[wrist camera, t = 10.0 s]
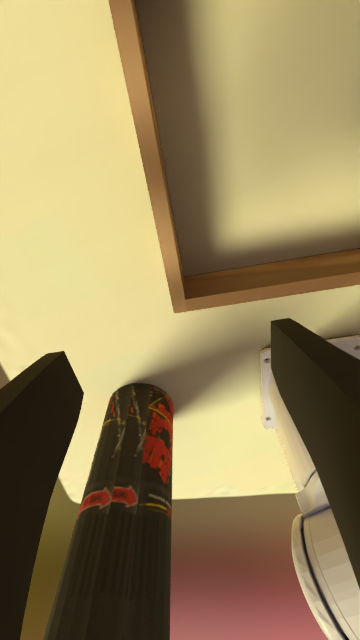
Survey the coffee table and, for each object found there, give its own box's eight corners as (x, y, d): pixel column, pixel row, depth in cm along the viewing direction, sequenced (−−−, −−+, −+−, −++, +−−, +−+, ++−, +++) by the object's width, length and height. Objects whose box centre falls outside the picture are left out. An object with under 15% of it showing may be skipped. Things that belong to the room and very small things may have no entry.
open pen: (404, 252, 19) (448, 270, 16) (174, 289, 20) (174, 313, 17) (499, -140, 11) (625, -256, 8) (109, -39, 12) (86, -105, 9)
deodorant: (100, 387, 24) (15, 646, 12) (166, 379, 24) (155, 637, 11) (118, 431, 27) (67, 675, 15) (177, 424, 27) (179, 669, 14)
